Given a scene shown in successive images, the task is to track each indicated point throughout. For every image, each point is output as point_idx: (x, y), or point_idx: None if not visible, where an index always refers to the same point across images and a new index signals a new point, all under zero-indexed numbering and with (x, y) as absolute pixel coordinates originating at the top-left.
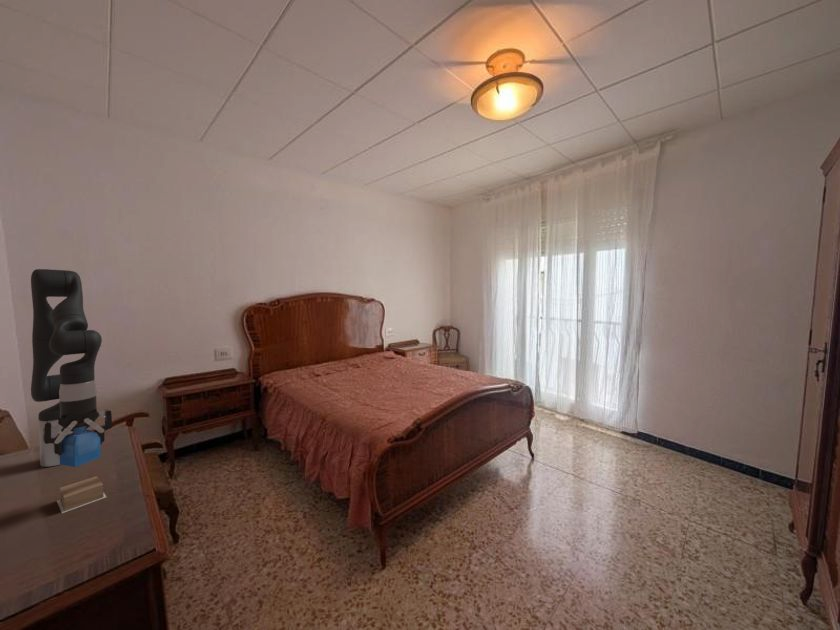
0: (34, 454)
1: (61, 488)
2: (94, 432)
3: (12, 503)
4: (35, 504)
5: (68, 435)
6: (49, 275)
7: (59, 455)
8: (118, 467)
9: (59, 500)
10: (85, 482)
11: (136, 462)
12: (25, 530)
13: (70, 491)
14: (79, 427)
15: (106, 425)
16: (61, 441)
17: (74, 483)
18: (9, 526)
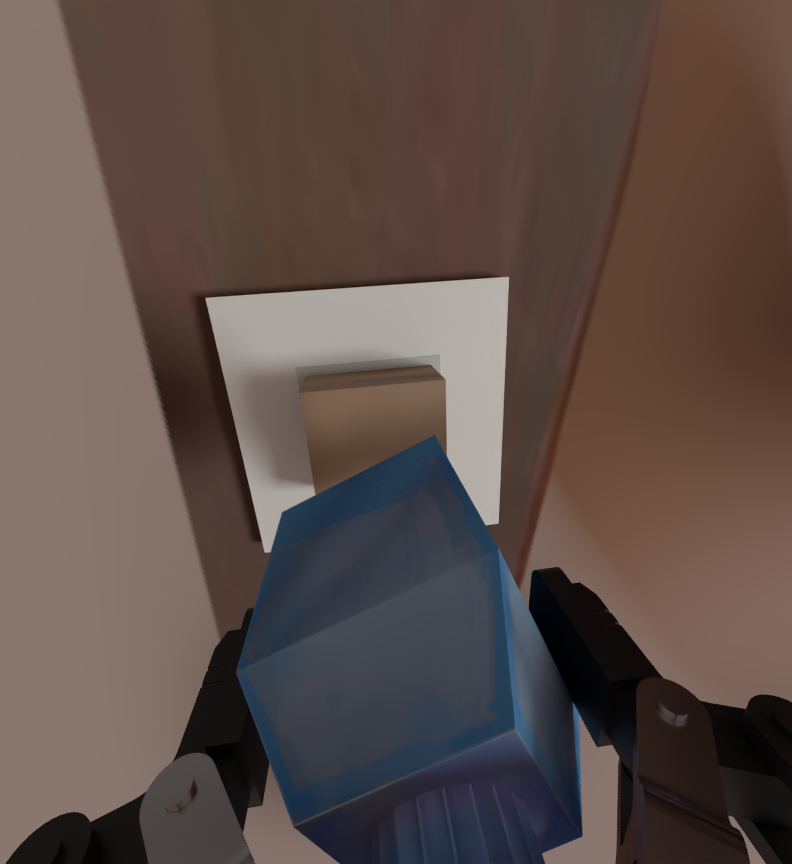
0: None
1: (306, 407)
2: (579, 797)
3: (115, 153)
4: (219, 275)
5: (320, 840)
6: None
7: (267, 565)
8: (557, 95)
9: (304, 370)
10: (396, 422)
11: (638, 106)
12: (225, 490)
13: (339, 475)
14: None
15: (766, 805)
16: (253, 715)
17: (355, 392)
18: (169, 419)
